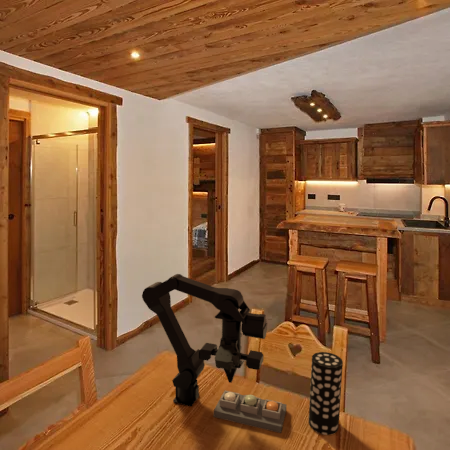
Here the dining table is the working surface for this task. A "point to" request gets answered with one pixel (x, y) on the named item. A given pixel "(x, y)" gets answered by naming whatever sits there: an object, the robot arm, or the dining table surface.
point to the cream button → (230, 397)
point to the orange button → (272, 406)
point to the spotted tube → (325, 392)
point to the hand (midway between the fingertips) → (230, 381)
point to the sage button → (250, 400)
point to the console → (251, 413)
